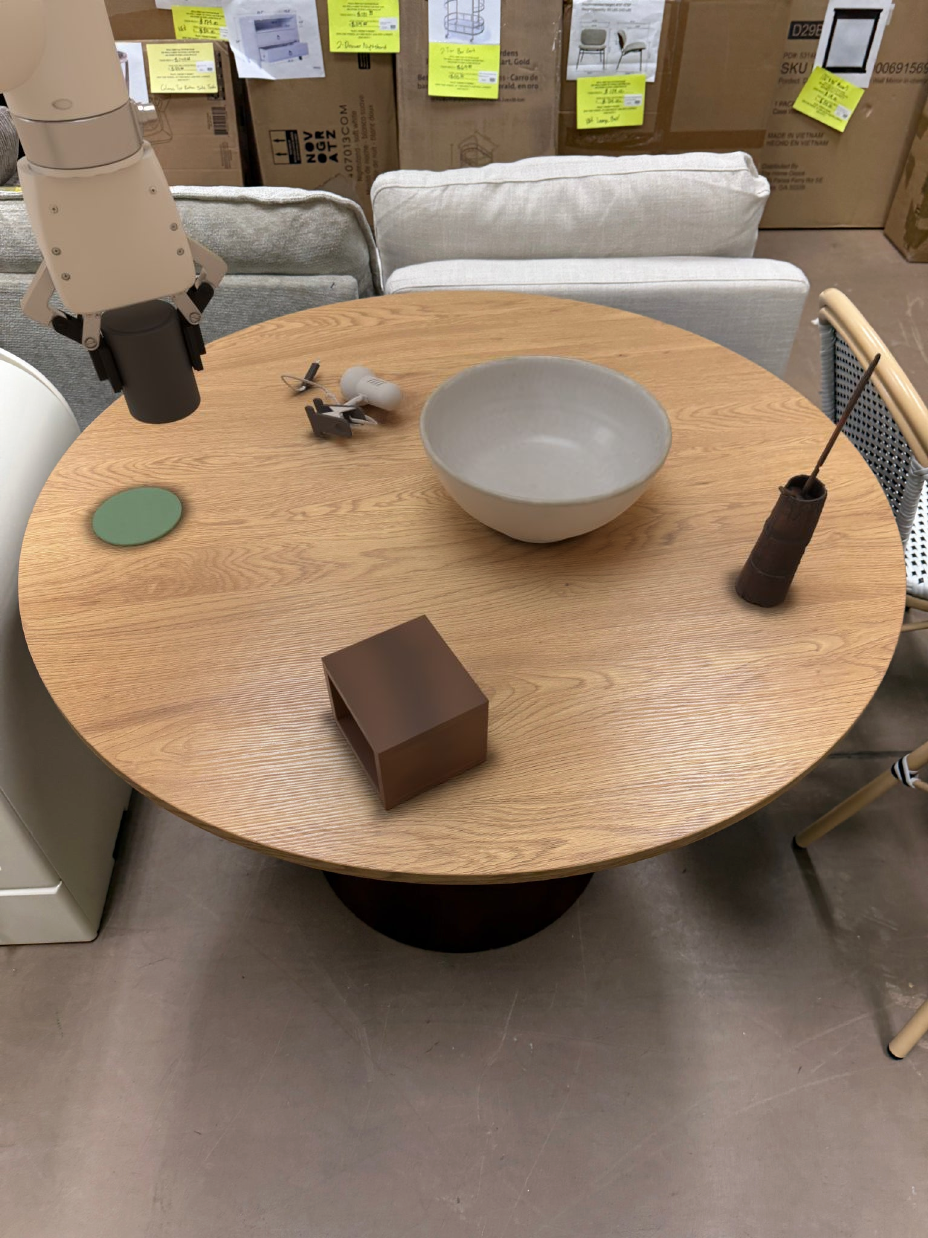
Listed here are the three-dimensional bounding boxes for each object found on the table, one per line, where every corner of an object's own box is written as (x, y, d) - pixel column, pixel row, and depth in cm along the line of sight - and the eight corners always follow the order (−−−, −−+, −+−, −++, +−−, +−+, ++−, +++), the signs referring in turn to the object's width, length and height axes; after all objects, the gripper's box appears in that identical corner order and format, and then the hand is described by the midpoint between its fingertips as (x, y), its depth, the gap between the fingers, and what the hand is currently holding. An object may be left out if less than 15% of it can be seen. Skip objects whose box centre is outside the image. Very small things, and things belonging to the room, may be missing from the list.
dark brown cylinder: (139, 432, 67) (107, 342, 61) (121, 396, 71) (90, 308, 65) (209, 411, 69) (186, 323, 63) (189, 378, 73) (164, 291, 67)
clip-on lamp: (273, 419, 112) (348, 452, 101) (255, 377, 108) (331, 407, 97) (339, 380, 117) (418, 407, 105) (325, 338, 113) (404, 362, 101)
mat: (105, 557, 90) (104, 555, 90) (84, 506, 96) (83, 504, 95) (193, 527, 93) (192, 525, 93) (168, 479, 99) (167, 477, 99)
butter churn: (716, 626, 83) (801, 385, 62) (700, 561, 89) (772, 323, 69) (806, 628, 83) (922, 387, 62) (784, 562, 89) (881, 324, 68)
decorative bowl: (482, 418, 107) (484, 334, 98) (680, 475, 100) (702, 388, 91) (381, 543, 91) (372, 455, 82) (607, 622, 84) (624, 534, 74)
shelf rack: (386, 811, 69) (378, 753, 62) (333, 718, 75) (320, 657, 69) (486, 760, 72) (489, 700, 66) (428, 676, 79) (424, 613, 72)
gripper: (190, 99, 59) (240, 328, 73) (-66, 138, 54) (39, 379, 67) (222, 129, 55) (269, 368, 68) (-53, 176, 49) (57, 426, 63)
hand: (155, 372), depth 68 cm, fingers closed on dark brown cylinder, 6 cm apart
